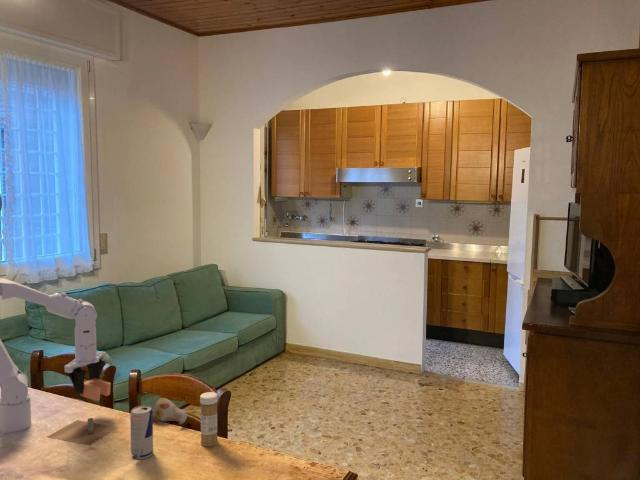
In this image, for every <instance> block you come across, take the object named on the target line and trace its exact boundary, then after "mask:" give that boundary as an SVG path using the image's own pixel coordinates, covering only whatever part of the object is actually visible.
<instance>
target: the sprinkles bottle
mask: <svg viewBox="0 0 640 480" xmlns="http://www.w3.org/2000/svg"><path fill="white" fill-rule="evenodd" d="M199 397H200V398H199V403H200V445H201V446H204V447H213V446H215V445H217V443H218V440H219V439H218V402H219V401H218V400H219V399H218V397H219V396H218V394H217V393H216V392H214V391H213V392H212V391H208V392H203V393H202V394H201V395H200V396H199Z"/></svg>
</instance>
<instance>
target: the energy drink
mask: <svg viewBox="0 0 640 480" xmlns="http://www.w3.org/2000/svg"><path fill="white" fill-rule="evenodd" d="M129 415H130V453H131V454H133V456H131V458H132V459H133V460H138V461H139V460H140V461H141V460H146V459H149V458H150V457H151V456H152V455H153V454H154V421H153V409H152V406H150V405H138V406H135V407H133V408H132V409H131V410H130V413H129Z"/></svg>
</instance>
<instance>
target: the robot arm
mask: <svg viewBox="0 0 640 480" xmlns="http://www.w3.org/2000/svg"><path fill="white" fill-rule="evenodd" d="M0 296H1V300H7V299H8V300H9V299H12V298H16V299H19V300H23V301H27V302H30V303H34V304H37V305H40V306H44V307H45V309H46V311H47V312H48V313H51V314H53V315H57V316H60V317H63V318H65V319H68V320H75V327H74V354H75V356H74V357H75V358H74V359H73V360H72V361H70V362H69V363H67V364H65V365H64V367H63V368H64V373H66V374H67V376H68V377H69V380H70V381H71V382H72V383H71V384H72V386H73V389H74V392H75V393H76V394H80V393H83V389H84V382H85V377H86V375H87V370H88V378H89V380H91V379H94V378H96V379H100V377H101V374H102V371H103V369H104V367H105V366H106V360H104V359H106V358H107V352H106V351H97V327H96V325H97V319H98V313H97V310H96V309H95V306H94V305H93V304H92V303H91V302H89V301H87V300H83V299H81V298H79V299H76V298H73V297H70V296H67V293H66V292H63V291H61V293H60V292H54V293H52V294H48V293H45V292H42V291H40V290H38V289H34V288H32V287H29V286H27V285H24V284H22V283H19V282H16V281H13V280H10V279H7V278H2V277H0ZM83 367H87V370H85V369H84V370H83V369H82V368H83ZM28 385H29V377H28V376H27V374H25V373H24V372H22V371H21V370H20V369H19V367H18V365H16V364H15V363H14V361H13V359H12V358H11V356H10V354H9V351H8V350H7V349H6V347H5V345H4V343H3V341H2V339H1V338H0V437H1V436H3V435H6V434H7V433H15V432H19V431H23V430H25V429H27V428H30V426H31V425H32V412H31V411H32V409H31V407H32V406H31V404H32V403H31V402H32V401H31V395H30V394H29V389H28V388H29V387H28Z"/></svg>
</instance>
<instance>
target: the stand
mask: <svg viewBox="0 0 640 480" xmlns="http://www.w3.org/2000/svg"><path fill="white" fill-rule="evenodd" d="M118 428H119V427H118V426H113V425H107V424H103V423H96V422H94V418H92V417H89V418H87V421H84V420H79V419H77V420H75V421H72V422H71V423H69V424H67V425H66V426H64V427H62V428H60V429H59V430H57V431H55V432H53V433H51V434H50V435H47V436H46V438H48V439H53V440H54V439H55V440H60V441H65V442H69V443H77V444H80V445H81V444H82V445H87V446H91V445H93V444H94V443H95V442H97V441H99V440H100V439H102V438H104V437H105V436H107V435H108V434H110V433H111V432H114V431H115V430H117V429H118Z"/></svg>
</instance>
